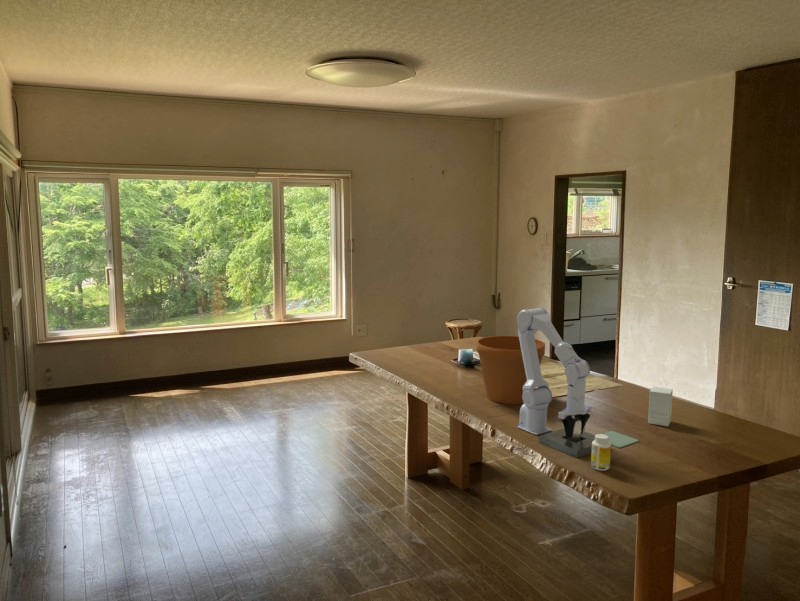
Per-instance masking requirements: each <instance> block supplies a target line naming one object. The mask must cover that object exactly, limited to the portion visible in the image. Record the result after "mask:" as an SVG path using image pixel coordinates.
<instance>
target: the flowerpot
mask: <svg viewBox="0 0 800 601" xmlns="http://www.w3.org/2000/svg"><path fill="white" fill-rule="evenodd" d="M535 343H536V348H537V353H538V358H539V364H540V365H541V363H542V360H543V356H545V354H546V342H544V341H542V340H539V339H536V338H535ZM476 352H477V353H478V357H479V358H478V359H479V363H480V368H481V373H482V377H483V378H482V379H483V382H484V388H485V392H486V393H485V394H486V398H487V399H488V400H490V401H493V402H496V403H498V404H499V403H500V404H506V405H517V404H518V405H519V404H524V402H523V399H522V395H523V388H522V387H523V386H524V384H525V383H526V381H527V378H526V373H525V367H524V362H523V357H522V352H521V346H520V341H519V336H516V335H493V336H492V335H491V336H486V337H481V338H479V339H477V340H476Z"/></svg>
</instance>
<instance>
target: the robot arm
mask: <svg viewBox="0 0 800 601" xmlns="http://www.w3.org/2000/svg"><path fill="white" fill-rule="evenodd" d="M551 319H552V318H551V314H549V313H548V311H547V309H546V308H544V307H538V308H529V309H522V310H520V311H519V313H518V314H517V316H516V322H517V335H518V337H519V341H520V346H521V352H522V357H523V362H524V367H525V373H526V378H527V381H526V383H525V384H524V386H523V387H522V388H523V395H522V399H523V402H524V403H522V405H521V407H520V409H519V421H518V422H519V423H518V424H519V425H517V428H518V429H521V430H523V431H525V432H527V433H531V434H533V435H535V436H538V435H539V436H540V435H543V434H546V433H550V432H552V429H551V428H549V427H547V423H548V420H547V419H548V407H549V406H550V404H549V403H551V402H552V400H553V393H552V390H551V389H550V385H549V382H547V381H546V380H545V379H544V378H543V375H542V370H541V364H539V358H538V353H537V348H536V343H535V339H536V337H535V335H536V334H537V332H538V331H540V332H541V333H542V334H543V335H544V336H545V337H546V339H547V340H548V341H549V343H551V345H552V346H553V347H554V351H553V352H554V354H555V355H556V357H557V358H558V360H559V362H561V364H562V366H563V367H564V374H565V377H566V383H567V389H566V391H567V392H566V394H567V395H566V407H565V408H564V409H563V410H561V411H558V415H557V416H558V417H557V418H558V419H560V421H561V423H562V425H563V429H565V433H566V436H567V437H569V438H572V436H573V429H574V425H575V422H576V421H577V420H576V419H573V417H576V418H580V419H581V420H582V425H581V435H582V433H583V431H585V430H584V429H585V427H586V424H587V423H588V421H589V419H590V418H591V415H590V412H592V407H593V406H592V405H590V404H585V403H586V402H585V401H586V400H585V399H586V386H587V385H586V384H587V383H586V382H587V380H586V379H587V377H588V376H589V375H590V373H591V372H590V371H591V368H590V365H589V363H588V361H586V360H584V359H582V357H580V356H578V354H577V352H575V350H574V348H573V346H572V345H571V344H570V343H569V342H565V341H563V338H562V337H561V336H560V334H559V333H558V331H557V330H556V328H555V326H554V324H553V323H552V321H551Z"/></svg>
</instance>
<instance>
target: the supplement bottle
mask: <svg viewBox="0 0 800 601" xmlns="http://www.w3.org/2000/svg"><path fill="white" fill-rule="evenodd" d="M594 435H595V440H594V441H593V442H592V453H590V454H591V455H590V456H591V457H590V466H591V468H592V469H593V470H596V471H599V472H600V471H601V472H602V471H603V472H605V471H607V470H610V467H611V466H610V465H611V453H612V452H611V449H612V448H611V447H612V445H611V444H610V442H608V441H609V437H608V436H607V435H604V433H597V434H594Z"/></svg>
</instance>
